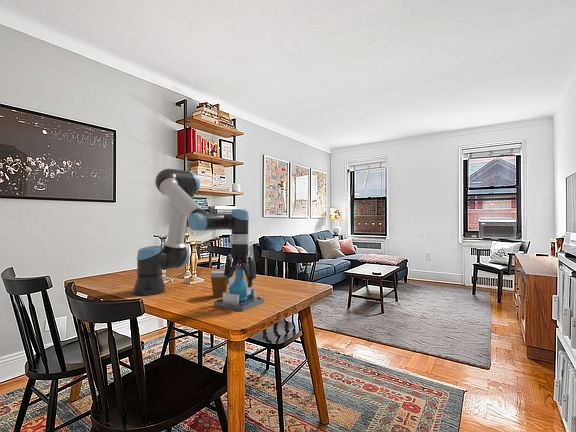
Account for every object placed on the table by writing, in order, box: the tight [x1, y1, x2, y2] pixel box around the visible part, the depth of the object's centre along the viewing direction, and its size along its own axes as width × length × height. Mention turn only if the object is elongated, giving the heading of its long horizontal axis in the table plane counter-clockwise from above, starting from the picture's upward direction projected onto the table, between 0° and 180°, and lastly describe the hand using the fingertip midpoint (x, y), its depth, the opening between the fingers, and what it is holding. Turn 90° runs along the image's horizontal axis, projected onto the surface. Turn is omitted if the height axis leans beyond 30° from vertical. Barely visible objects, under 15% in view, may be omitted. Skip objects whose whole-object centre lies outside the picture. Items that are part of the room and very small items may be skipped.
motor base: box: [213, 287, 265, 312], centre depth 146 cm, size 16×16×6 cm
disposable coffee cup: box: [209, 269, 228, 298], centre depth 161 cm, size 10×10×12 cm
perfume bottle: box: [228, 264, 248, 301], centre depth 146 cm, size 9×9×15 cm
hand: (239, 293), depth 146 cm, fingers closed on perfume bottle, 9 cm apart
